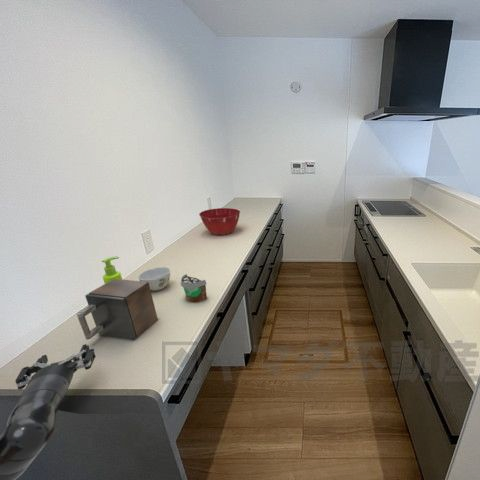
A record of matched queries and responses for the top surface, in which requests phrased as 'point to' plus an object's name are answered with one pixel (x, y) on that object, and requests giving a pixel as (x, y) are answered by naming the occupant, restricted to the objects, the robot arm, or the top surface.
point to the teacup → (156, 278)
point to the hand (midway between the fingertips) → (66, 352)
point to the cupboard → (132, 301)
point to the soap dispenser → (110, 270)
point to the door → (107, 317)
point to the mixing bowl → (220, 220)
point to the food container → (194, 288)
